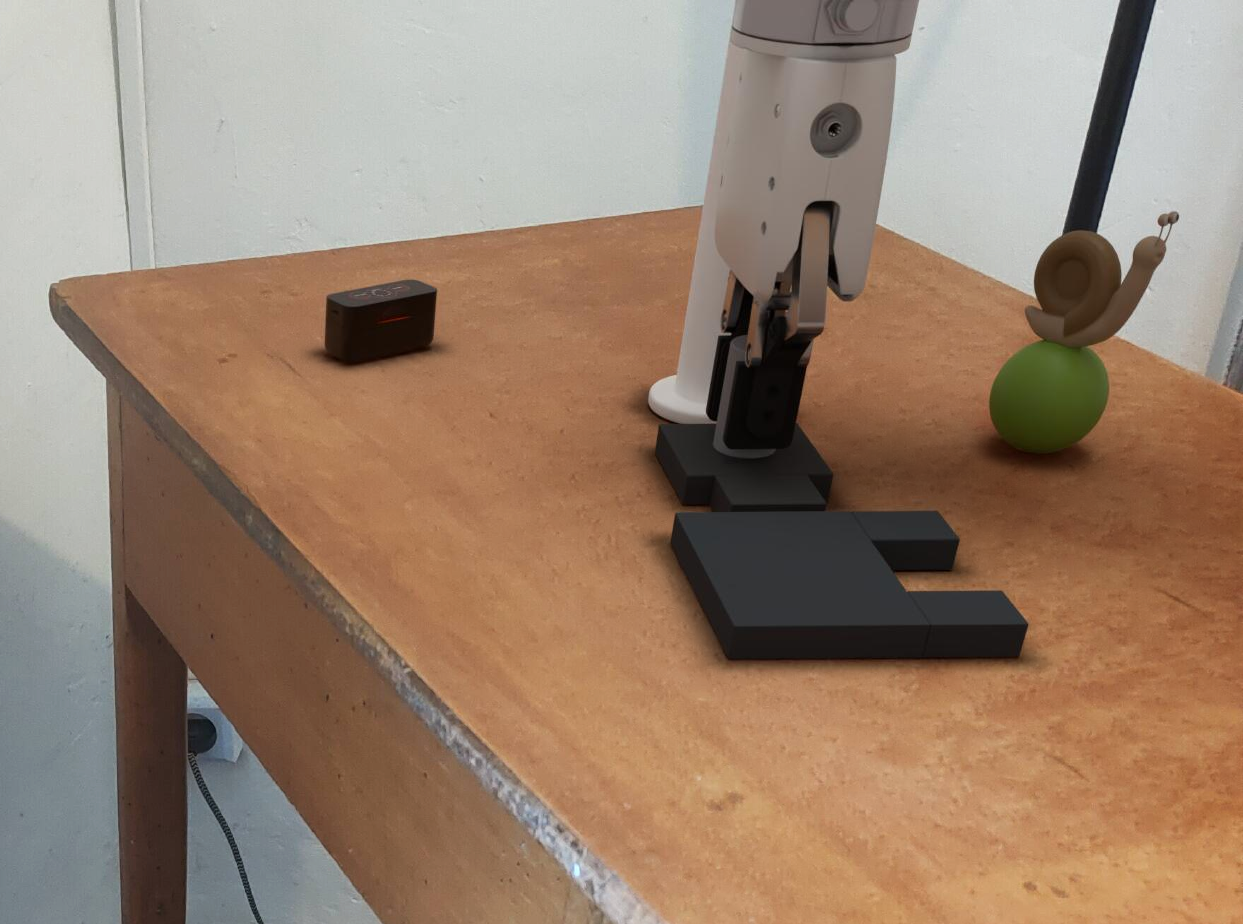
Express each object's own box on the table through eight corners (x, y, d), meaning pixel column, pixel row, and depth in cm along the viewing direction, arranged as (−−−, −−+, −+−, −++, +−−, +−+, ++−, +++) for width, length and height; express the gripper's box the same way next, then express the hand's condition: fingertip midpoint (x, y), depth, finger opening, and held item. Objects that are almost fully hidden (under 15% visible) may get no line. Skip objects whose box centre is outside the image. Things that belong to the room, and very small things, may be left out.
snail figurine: (1062, 484, 92) (1139, 223, 85) (954, 445, 96) (1018, 193, 89) (1130, 460, 95) (1211, 204, 87) (1022, 423, 99) (1090, 176, 91)
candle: (721, 440, 97) (822, -131, 82) (620, 404, 102) (696, -145, 86) (810, 411, 101) (923, -145, 85) (708, 377, 105) (797, -157, 89)
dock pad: (930, 541, 87) (938, 509, 86) (1019, 657, 78) (1029, 623, 77) (669, 543, 87) (675, 511, 86) (727, 659, 78) (734, 625, 77)
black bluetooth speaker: (448, 346, 110) (453, 288, 108) (346, 367, 107) (349, 308, 105) (402, 324, 113) (406, 268, 111) (302, 345, 110) (304, 287, 108)
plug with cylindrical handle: (654, 452, 96) (674, 321, 92) (791, 451, 96) (818, 320, 92) (698, 535, 88) (722, 395, 84) (848, 534, 88) (880, 393, 84)
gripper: (976, 41, 74) (871, 496, 86) (860, -28, 87) (782, 376, 98) (784, 43, 74) (705, 497, 86) (696, -26, 87) (638, 378, 99)
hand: (747, 429), depth 92 cm, fingers closed on plug with cylindrical handle, 3 cm apart
